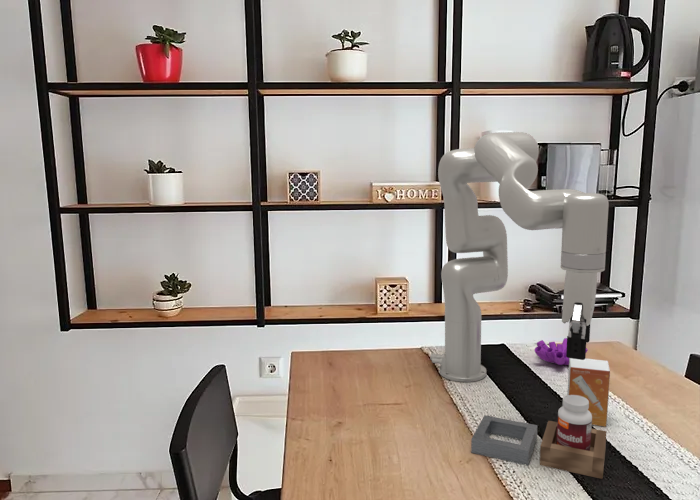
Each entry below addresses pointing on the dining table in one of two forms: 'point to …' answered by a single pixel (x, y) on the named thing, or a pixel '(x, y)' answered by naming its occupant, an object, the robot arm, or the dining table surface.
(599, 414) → the small box
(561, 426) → the pill bottle
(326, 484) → the dining table surface
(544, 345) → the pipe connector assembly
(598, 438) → the tray
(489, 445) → the socket block
